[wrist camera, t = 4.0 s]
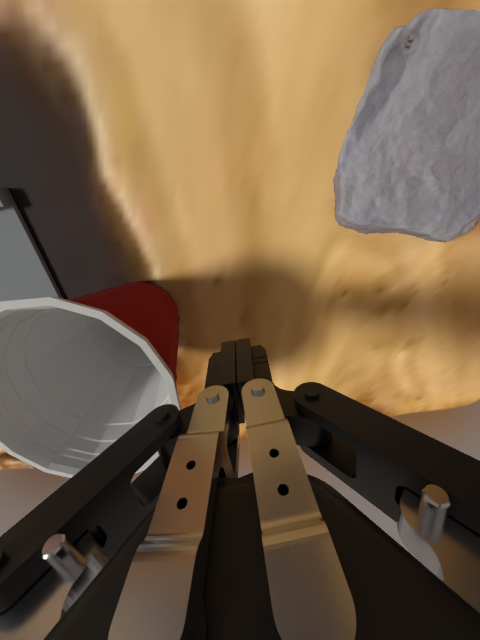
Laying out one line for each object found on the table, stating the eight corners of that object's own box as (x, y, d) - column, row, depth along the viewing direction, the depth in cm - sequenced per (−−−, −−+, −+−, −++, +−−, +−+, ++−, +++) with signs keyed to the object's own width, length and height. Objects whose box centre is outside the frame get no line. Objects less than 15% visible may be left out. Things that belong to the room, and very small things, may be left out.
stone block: (318, 229, 22) (442, 241, 21) (325, 232, 18) (484, 248, 16) (353, 46, 17) (516, 47, 16) (375, -11, 13) (601, -15, 12)
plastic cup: (138, 219, 20) (21, 242, 9) (229, 316, 23) (227, 419, 12) (55, 303, 22) (-113, 401, 11) (148, 379, 26) (88, 506, 15)
